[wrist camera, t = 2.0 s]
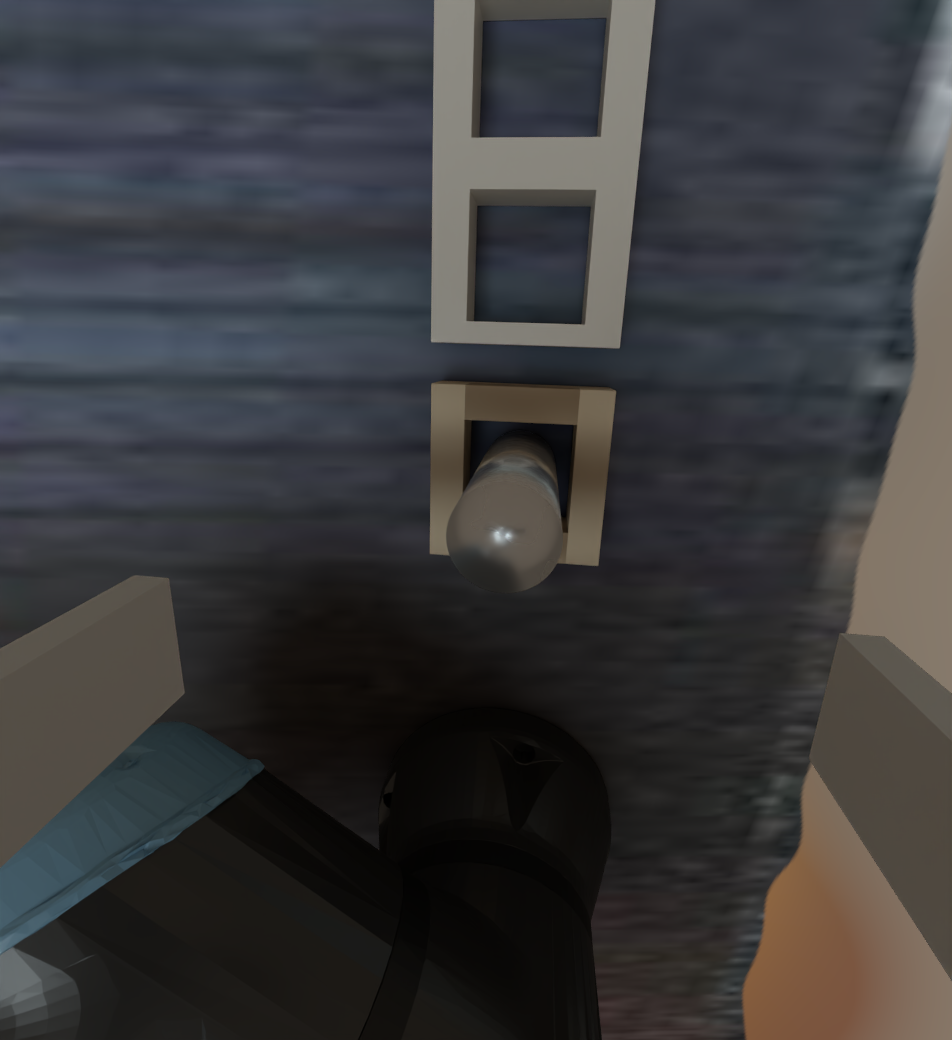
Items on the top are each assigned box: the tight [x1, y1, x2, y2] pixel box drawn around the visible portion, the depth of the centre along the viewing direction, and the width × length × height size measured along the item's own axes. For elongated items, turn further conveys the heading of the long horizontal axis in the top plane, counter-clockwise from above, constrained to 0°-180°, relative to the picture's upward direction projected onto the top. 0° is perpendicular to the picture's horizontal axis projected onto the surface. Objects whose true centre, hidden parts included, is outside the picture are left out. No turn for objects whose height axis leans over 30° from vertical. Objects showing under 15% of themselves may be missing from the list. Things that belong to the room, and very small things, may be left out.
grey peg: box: [446, 430, 563, 593], centre depth 25 cm, size 4×4×13 cm
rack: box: [431, 0, 655, 349], centre depth 26 cm, size 15×9×3 cm, turn 178°
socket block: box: [430, 381, 616, 566], centre depth 30 cm, size 9×9×3 cm
